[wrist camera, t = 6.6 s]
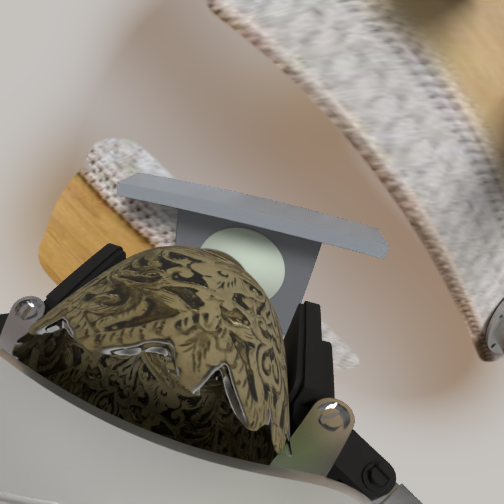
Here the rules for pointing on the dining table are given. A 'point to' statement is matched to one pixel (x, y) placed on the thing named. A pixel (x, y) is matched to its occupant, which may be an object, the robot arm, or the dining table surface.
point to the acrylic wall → (255, 212)
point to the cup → (174, 351)
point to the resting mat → (257, 256)
